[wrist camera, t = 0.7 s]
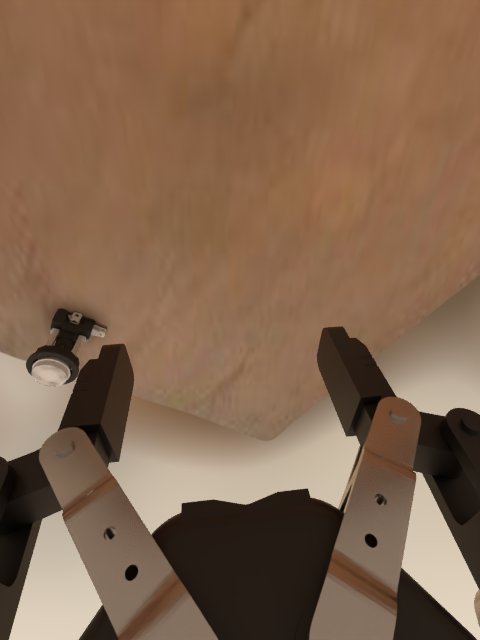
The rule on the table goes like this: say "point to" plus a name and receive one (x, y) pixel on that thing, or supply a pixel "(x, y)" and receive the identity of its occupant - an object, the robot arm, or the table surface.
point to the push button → (62, 349)
